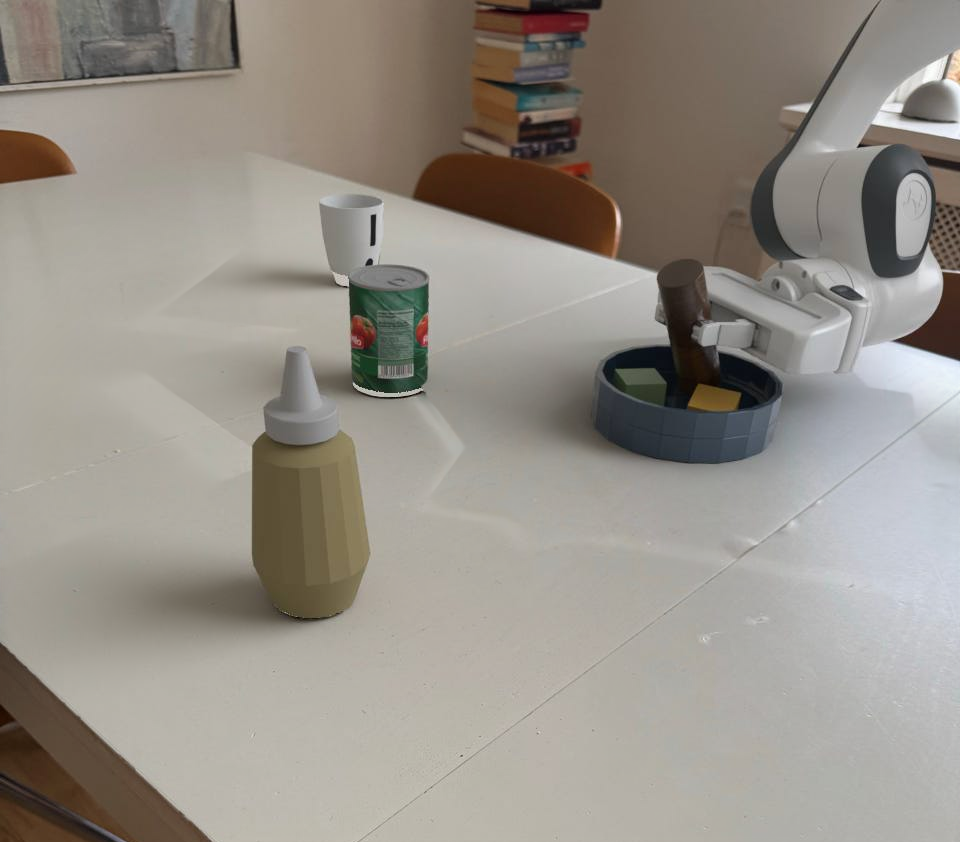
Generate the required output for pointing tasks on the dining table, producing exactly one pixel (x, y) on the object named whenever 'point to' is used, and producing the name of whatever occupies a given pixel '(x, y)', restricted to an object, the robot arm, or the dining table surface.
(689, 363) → the brown wooden dowel
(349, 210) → the cup
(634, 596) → the dining table surface
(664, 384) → the block sage
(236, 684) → the dining table surface
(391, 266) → the canned tomato
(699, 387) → the block ochre
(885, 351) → the dining table surface
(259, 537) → the squeeze bottle
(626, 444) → the bowl
